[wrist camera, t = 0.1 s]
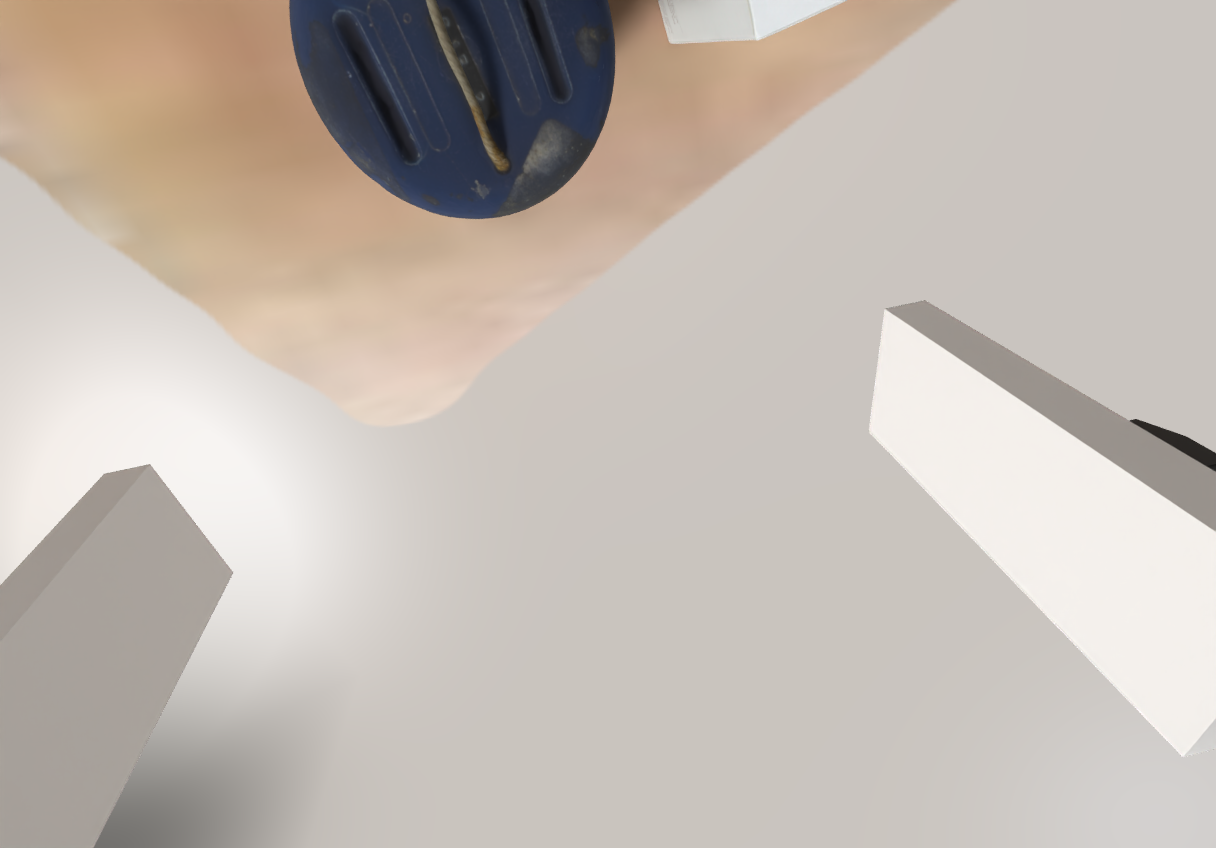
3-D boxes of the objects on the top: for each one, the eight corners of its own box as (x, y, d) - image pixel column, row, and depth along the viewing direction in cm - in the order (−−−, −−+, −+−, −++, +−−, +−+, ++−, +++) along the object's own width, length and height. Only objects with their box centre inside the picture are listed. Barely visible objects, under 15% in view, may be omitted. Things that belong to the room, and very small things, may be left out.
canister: (557, -71, 28) (622, -205, 13) (577, 142, 33) (640, 217, 19) (357, -57, 27) (187, -183, 12) (410, 160, 33) (335, 253, 18)
